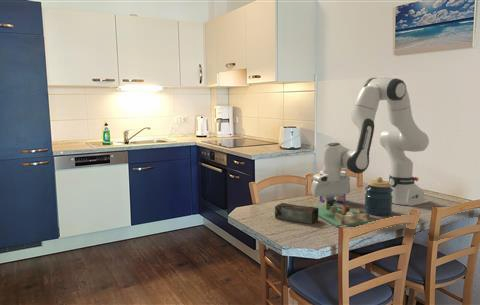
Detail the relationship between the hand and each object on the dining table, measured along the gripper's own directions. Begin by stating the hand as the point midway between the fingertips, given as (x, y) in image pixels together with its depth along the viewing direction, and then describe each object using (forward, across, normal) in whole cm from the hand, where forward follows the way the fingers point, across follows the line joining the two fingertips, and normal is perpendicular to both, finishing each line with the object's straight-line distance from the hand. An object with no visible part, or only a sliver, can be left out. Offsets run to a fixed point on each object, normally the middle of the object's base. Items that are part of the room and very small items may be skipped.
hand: (330, 203), depth 198 cm
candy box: (+4, -12, -18) cm, 22 cm away
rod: (+3, 0, +6) cm, 6 cm away
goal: (+4, 0, +18) cm, 19 cm away
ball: (+1, 0, +16) cm, 17 cm away
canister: (+4, -22, +8) cm, 24 cm away
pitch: (+4, 0, +7) cm, 8 cm away
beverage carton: (+5, +21, +6) cm, 22 cm away
